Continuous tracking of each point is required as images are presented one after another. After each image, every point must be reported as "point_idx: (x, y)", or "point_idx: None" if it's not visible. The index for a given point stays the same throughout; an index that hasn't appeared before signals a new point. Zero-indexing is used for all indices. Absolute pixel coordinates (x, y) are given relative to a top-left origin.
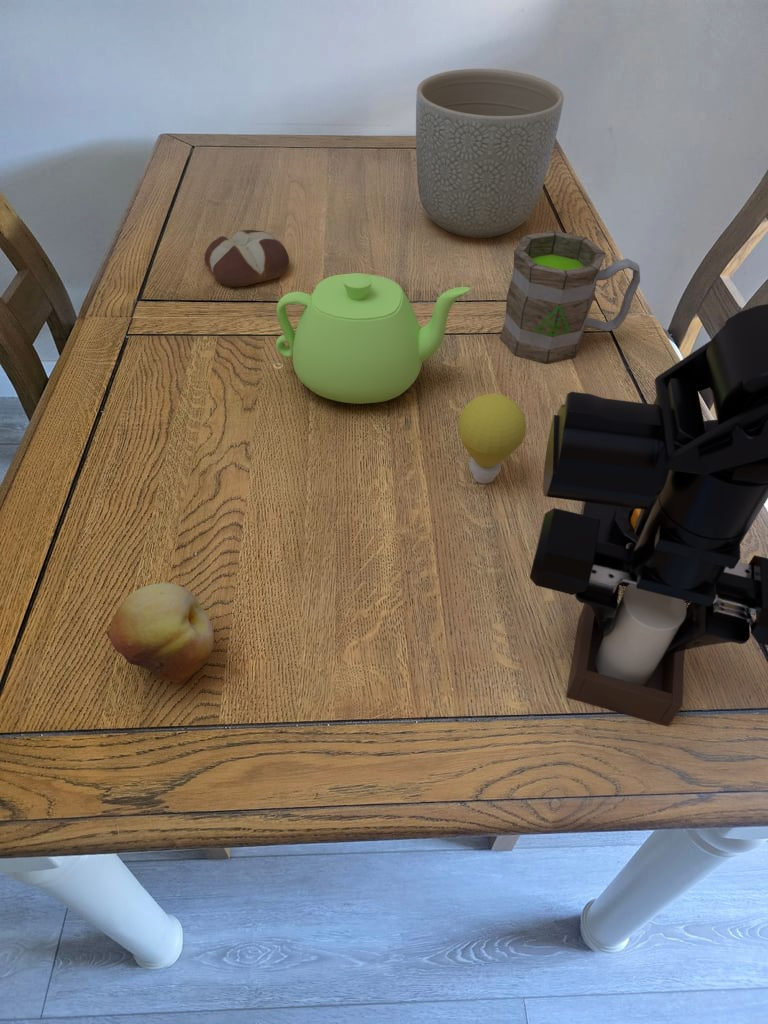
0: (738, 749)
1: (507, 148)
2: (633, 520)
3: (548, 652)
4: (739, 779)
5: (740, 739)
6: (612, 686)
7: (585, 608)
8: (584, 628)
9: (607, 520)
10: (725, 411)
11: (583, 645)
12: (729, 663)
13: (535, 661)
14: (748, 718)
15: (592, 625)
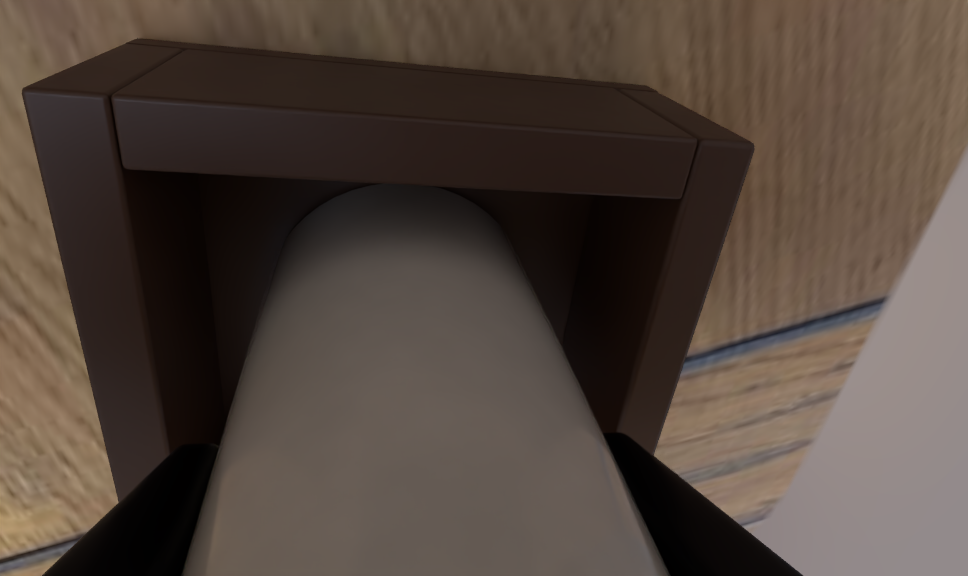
0: (762, 438)
1: None
2: None
3: (47, 291)
4: (734, 506)
5: (780, 410)
6: None
7: (54, 209)
8: (100, 372)
9: None
10: None
11: (132, 470)
12: (868, 133)
13: (6, 349)
14: (835, 341)
15: (146, 340)
